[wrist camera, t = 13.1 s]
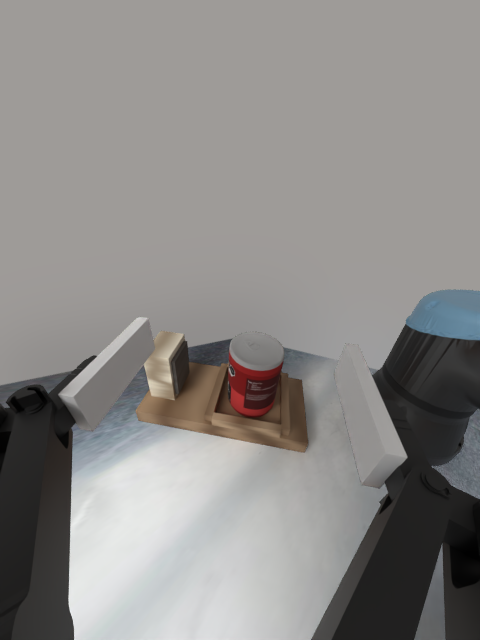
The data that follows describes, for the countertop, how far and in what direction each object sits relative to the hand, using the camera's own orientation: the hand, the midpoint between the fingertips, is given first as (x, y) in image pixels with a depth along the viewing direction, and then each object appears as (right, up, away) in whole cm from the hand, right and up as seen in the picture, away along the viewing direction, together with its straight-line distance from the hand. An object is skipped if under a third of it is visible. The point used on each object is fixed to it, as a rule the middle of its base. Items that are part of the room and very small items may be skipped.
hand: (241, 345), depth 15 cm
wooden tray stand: (-2, -13, +24) cm, 27 cm away
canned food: (+2, -12, +22) cm, 25 cm away
